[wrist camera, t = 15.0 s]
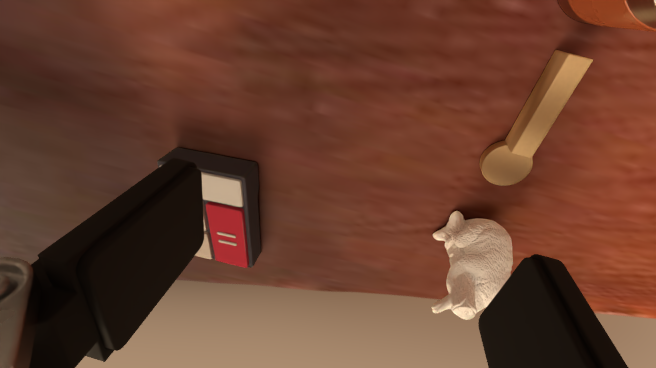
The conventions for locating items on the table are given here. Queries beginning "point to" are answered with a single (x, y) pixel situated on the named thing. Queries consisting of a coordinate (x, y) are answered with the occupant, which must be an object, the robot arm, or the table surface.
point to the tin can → (613, 13)
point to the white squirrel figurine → (474, 263)
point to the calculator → (226, 206)
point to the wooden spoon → (534, 120)
